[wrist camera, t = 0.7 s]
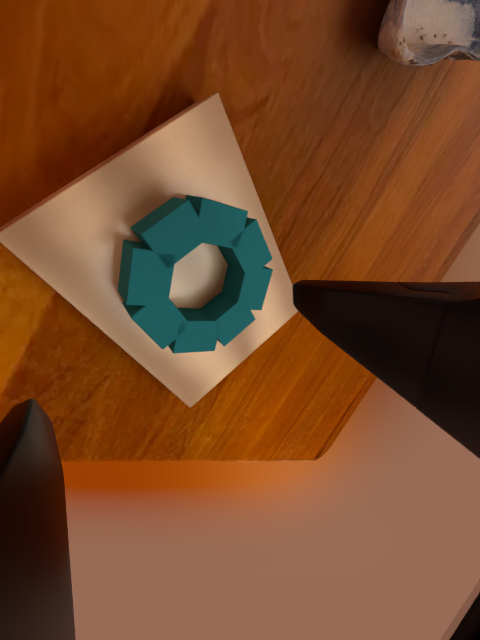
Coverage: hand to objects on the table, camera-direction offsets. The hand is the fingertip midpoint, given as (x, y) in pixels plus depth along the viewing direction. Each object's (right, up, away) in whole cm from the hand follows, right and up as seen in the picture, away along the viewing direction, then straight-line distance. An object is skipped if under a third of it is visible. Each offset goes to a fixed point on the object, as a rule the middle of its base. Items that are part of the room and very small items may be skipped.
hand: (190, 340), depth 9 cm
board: (-3, +4, +13) cm, 14 cm away
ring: (-2, +4, +10) cm, 11 cm away
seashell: (+17, +26, +16) cm, 35 cm away
